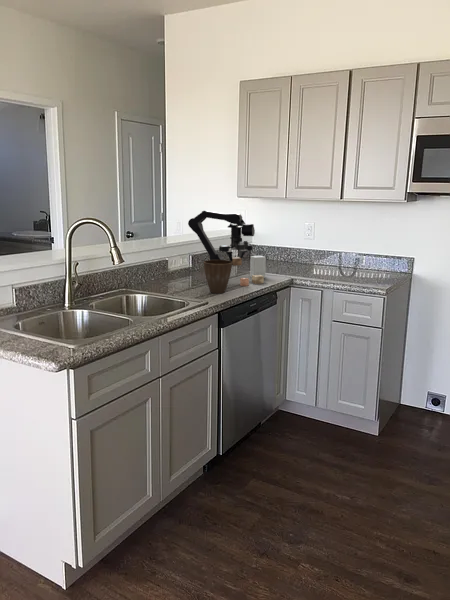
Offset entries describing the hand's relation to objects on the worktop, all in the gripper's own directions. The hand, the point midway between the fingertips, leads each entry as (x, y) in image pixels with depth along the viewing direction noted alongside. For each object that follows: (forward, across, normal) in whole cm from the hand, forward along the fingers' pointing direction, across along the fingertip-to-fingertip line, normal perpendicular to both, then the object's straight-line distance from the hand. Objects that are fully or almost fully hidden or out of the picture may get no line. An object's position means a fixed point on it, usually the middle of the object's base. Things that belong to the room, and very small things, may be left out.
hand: (235, 262), depth 292 cm
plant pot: (+11, -20, -24) cm, 33 cm away
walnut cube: (+1, 0, 0) cm, 1 cm away
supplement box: (+11, +18, +8) cm, 23 cm away
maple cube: (+11, +10, -9) cm, 17 cm away
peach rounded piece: (+11, 0, -13) cm, 17 cm away
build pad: (+11, +10, -9) cm, 17 cm away
